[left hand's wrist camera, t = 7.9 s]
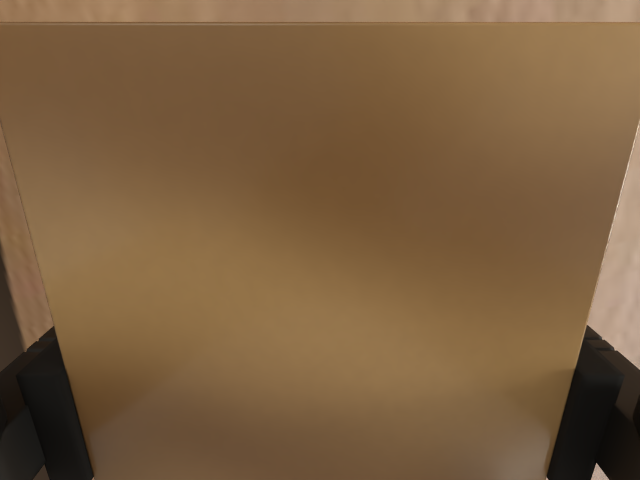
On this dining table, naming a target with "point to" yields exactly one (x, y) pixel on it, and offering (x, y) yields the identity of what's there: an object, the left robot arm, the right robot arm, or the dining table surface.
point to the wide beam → (320, 236)
